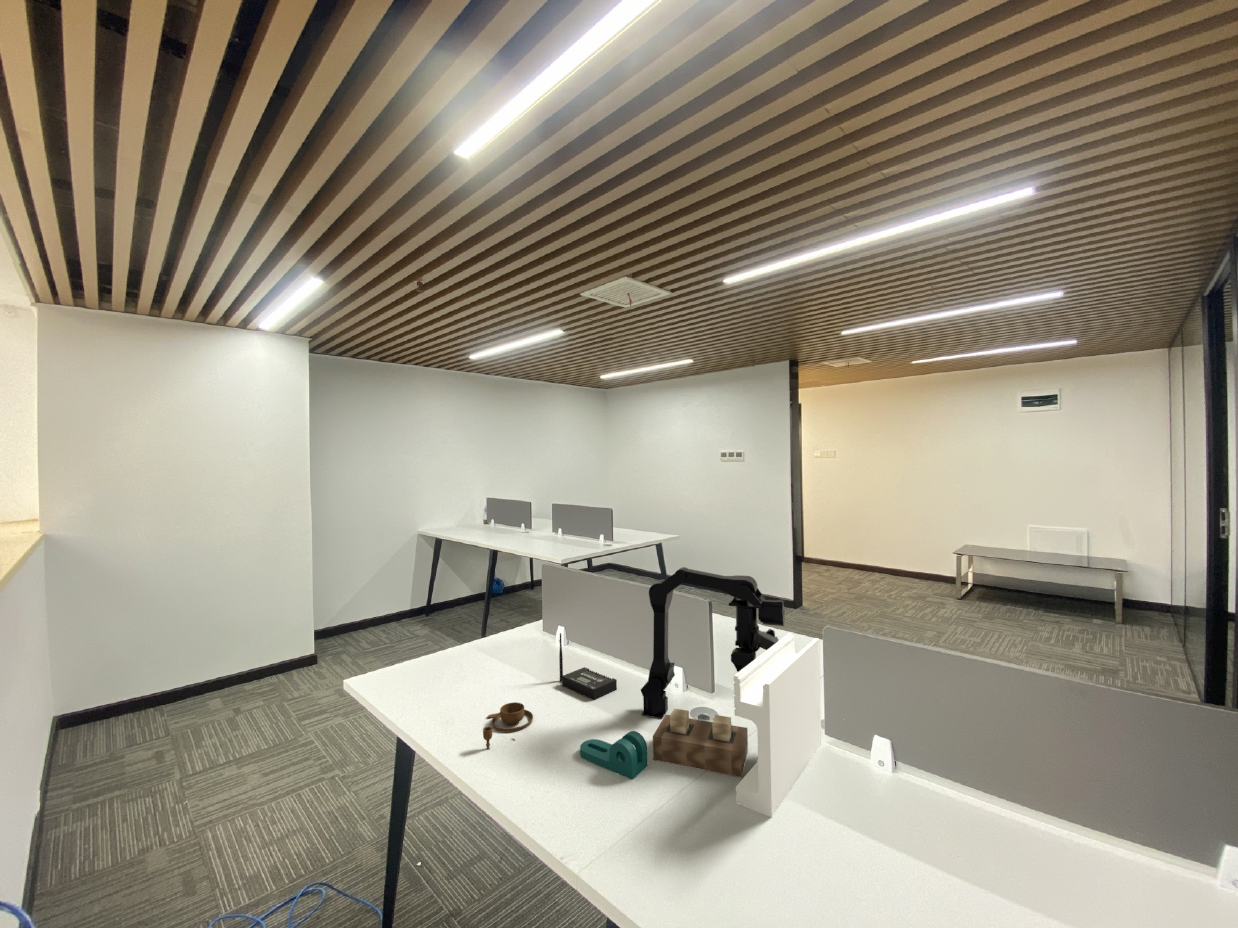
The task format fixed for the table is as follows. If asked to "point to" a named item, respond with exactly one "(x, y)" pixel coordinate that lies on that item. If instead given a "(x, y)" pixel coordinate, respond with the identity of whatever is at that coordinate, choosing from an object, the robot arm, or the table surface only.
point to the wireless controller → (586, 681)
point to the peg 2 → (722, 728)
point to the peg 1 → (679, 721)
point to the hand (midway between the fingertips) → (747, 677)
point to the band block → (701, 747)
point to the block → (779, 720)
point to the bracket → (618, 754)
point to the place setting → (507, 720)
